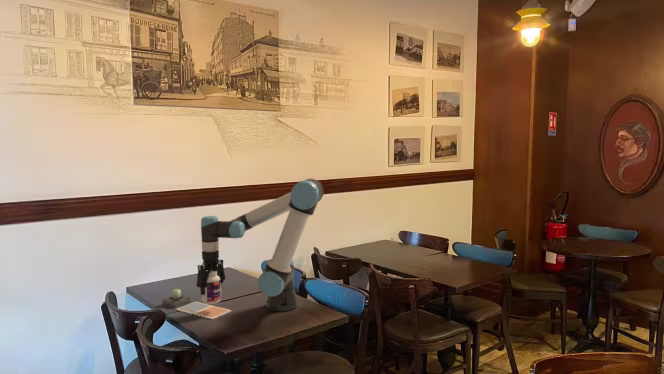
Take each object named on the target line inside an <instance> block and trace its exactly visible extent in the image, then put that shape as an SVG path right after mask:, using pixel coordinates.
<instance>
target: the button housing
mask: <svg viewBox="0 0 664 374" xmlns="http://www.w3.org/2000/svg"><path fill="white" fill-rule="evenodd" d="M188 304H191V297H190V296H189V295H183V294H181V299H178V300H172V297H171V295H170V296H167V297H165V298H162V305H163V306H165V307H169V308H173V309H177V308H180V307H183V306H185V305H188Z"/></svg>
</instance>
